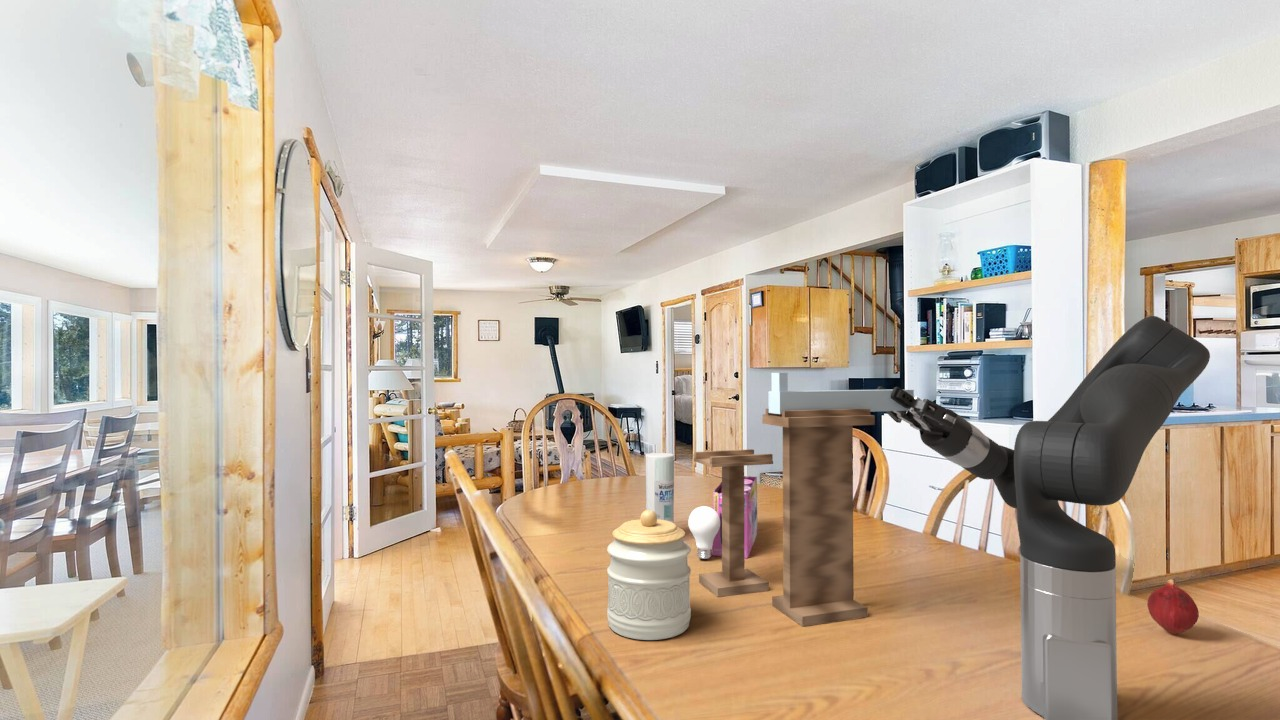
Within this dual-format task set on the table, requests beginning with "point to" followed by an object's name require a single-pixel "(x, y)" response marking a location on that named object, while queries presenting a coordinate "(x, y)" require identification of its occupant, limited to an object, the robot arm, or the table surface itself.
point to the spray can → (660, 485)
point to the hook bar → (828, 398)
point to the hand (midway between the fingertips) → (885, 391)
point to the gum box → (749, 515)
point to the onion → (1172, 608)
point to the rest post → (733, 523)
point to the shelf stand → (818, 514)
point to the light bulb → (704, 529)
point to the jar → (648, 579)
